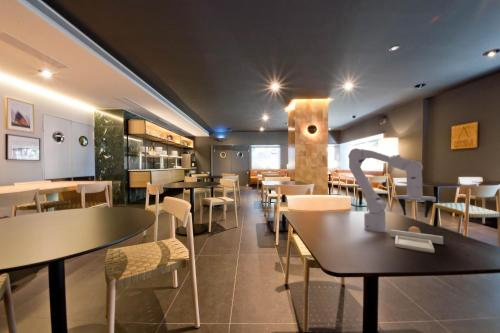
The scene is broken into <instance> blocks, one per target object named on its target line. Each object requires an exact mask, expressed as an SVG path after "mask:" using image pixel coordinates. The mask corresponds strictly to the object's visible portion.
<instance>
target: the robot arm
mask: <svg viewBox="0 0 500 333" xmlns="http://www.w3.org/2000/svg"><path fill="white" fill-rule="evenodd" d="M347 157H348V168H349V170H350V172H351V174H352V176H353V177H354V180H356V182H357V185H358V186H359V188H360V189H361V192H362V193H363V195H364V196H365V202H366V204H367V205H366V206H367V210H368V211H365V212H364V219H363V220H364V223H363V224H364V230H365V231H369V232H370V231H371V232H379V233H387V232H388V231H387V230H388V227H386V222H387V221H386V212H385V209H386V208H387V204H386V202H385V200H384V199H382V198H381V197H380V196H379V194H378V193H376V191H375V189H374V187H373V186H372V183H370V181H369V180H368V177H367V176H366V175H365V173H364V170H363V169H362V164H363V163H364V161H366V159H375V160H377V161H382V162H385V163H387V164H388V166H389V167H392V168H395V169H398V170H401V171H406V194H405V195H404V194H401V195H398V194H396V195H395V200H397V201H398V202H399V204H400V206H401V209H402V211H403V216H407V212H406V201H419V202H424V218H428V215H429V211H430V209H431V208H432V206H433V204H434V202H435V203H436V202H437V198H436V196H426V195H425V196H424V194H423V176H422V175H423V173H422V170H423V168H424V166H423V164H422V163H421V162H419V161H418V160H413V159H412V158H405V157H402V156H401V155H400V154H396V155H395V154H394V155H390V156H389V155H386V154H382V153H381V152H377V151H373V150H370V149H369V150H368V149H363V148H357V147H356V148H353V149H351V150H350V152H349V153H348V156H347Z"/></svg>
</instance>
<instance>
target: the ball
mask: <svg viewBox="0 0 500 333" xmlns="http://www.w3.org/2000/svg"><path fill="white" fill-rule="evenodd" d="M408 232H414V233H421V229H420V228H419V227H417V226H411V227H409V228H408ZM421 234H422V233H421Z"/></svg>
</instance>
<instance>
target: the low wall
mask: <svg viewBox="0 0 500 333" xmlns="http://www.w3.org/2000/svg"><path fill="white" fill-rule="evenodd" d="M396 235H398V236H405V237H412V238H419V239H426V240H431V242H432V244H438V245H444V236H443V235H437V234H436V235H434V234H429V233H428V234H427V233H414V232H409V231H405V230H404V231H403V230H397V229H390V237H392V238H396Z"/></svg>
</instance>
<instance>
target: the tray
mask: <svg viewBox="0 0 500 333" xmlns="http://www.w3.org/2000/svg"><path fill="white" fill-rule="evenodd" d="M394 238H395V239H394V240H395V242H394V247H395V248H401V249H406V250H412V251H419V252H424V253H430V254H435V248H434V245H433V243H432V242H431V240H426V239H419V238H412V237H405V236H398V235H396V237H394Z"/></svg>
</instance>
